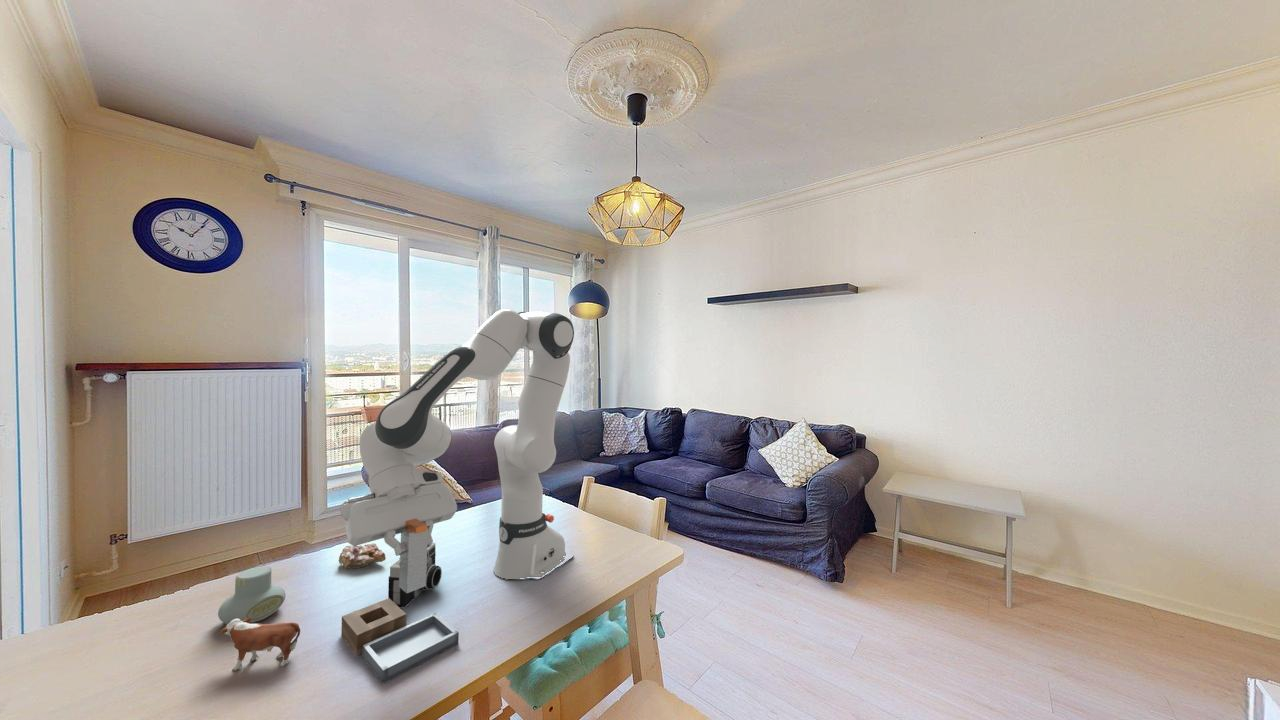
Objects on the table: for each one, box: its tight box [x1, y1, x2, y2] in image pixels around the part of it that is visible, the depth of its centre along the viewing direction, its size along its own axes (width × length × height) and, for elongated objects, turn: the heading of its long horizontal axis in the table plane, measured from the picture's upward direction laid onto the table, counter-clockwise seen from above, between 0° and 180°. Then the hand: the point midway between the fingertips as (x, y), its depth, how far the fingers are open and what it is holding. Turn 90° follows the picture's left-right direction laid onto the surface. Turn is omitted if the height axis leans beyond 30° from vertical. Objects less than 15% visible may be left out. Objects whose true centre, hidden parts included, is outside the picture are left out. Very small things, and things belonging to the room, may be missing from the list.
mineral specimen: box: [338, 542, 387, 569], centre depth 117 cm, size 12×8×7 cm
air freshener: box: [217, 565, 286, 625], centre depth 93 cm, size 11×8×10 cm
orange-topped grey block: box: [399, 518, 428, 593], centre depth 84 cm, size 4×6×13 cm, turn 51°
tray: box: [361, 612, 460, 685], centre depth 84 cm, size 14×10×2 cm
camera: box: [387, 542, 443, 608], centre depth 104 cm, size 14×9×10 cm, turn 170°
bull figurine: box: [220, 618, 301, 672], centre depth 79 cm, size 4×13×8 cm, turn 95°
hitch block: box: [340, 597, 407, 656], centre depth 88 cm, size 9×9×4 cm
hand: (415, 549), depth 83 cm, fingers closed on orange-topped grey block, 4 cm apart
